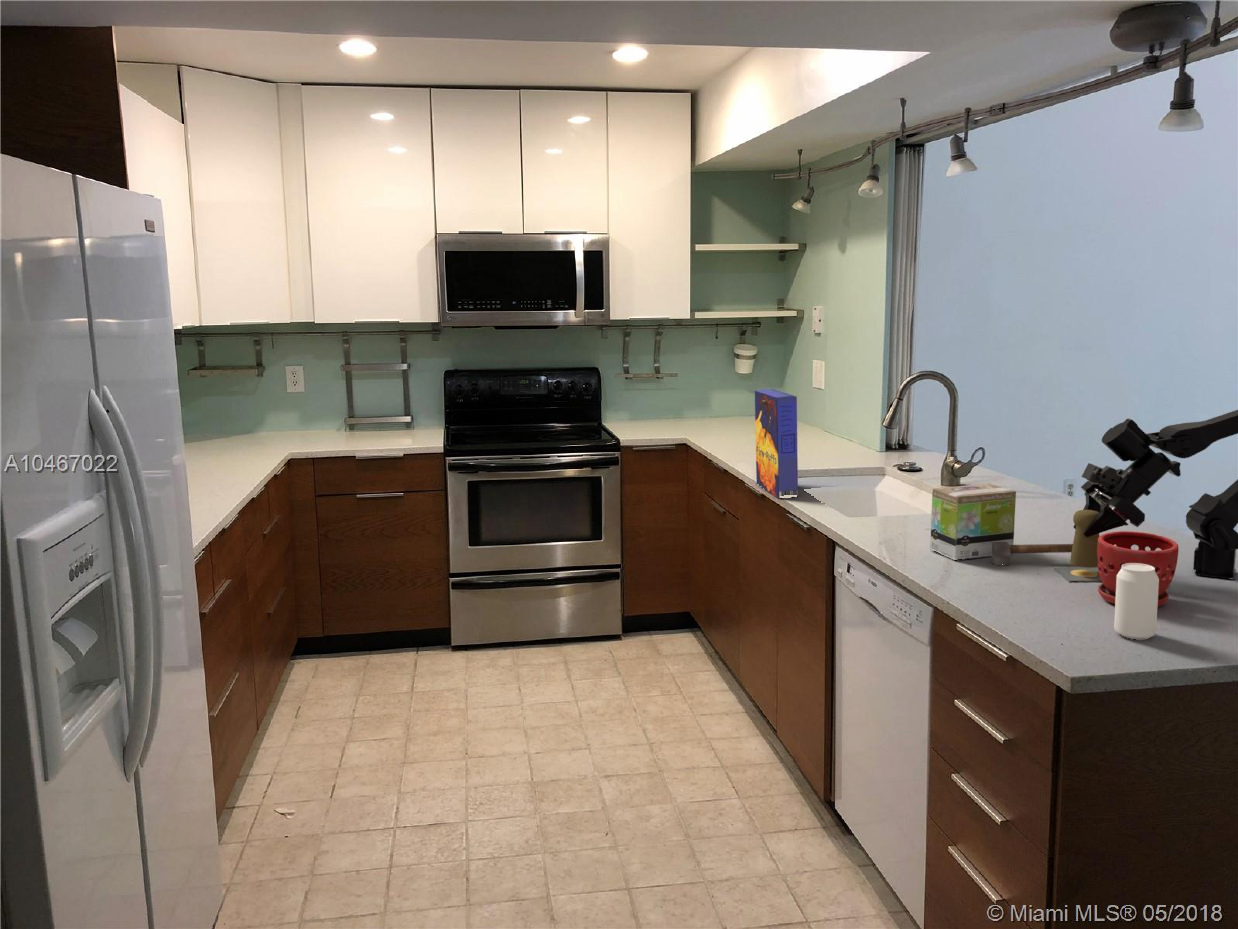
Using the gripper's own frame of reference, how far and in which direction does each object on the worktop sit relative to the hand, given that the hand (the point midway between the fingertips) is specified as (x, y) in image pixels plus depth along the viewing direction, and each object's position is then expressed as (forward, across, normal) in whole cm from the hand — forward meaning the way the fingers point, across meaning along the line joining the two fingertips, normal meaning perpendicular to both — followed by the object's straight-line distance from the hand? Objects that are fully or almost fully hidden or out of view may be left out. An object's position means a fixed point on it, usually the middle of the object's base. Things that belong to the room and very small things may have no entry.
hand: (1079, 532), depth 190 cm
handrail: (+9, -9, +4) cm, 13 cm away
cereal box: (+46, -88, -34) cm, 105 cm away
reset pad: (+6, 0, +7) cm, 9 cm away
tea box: (+18, -18, -5) cm, 26 cm away
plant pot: (+4, +17, +10) cm, 20 cm away
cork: (+4, 0, +6) cm, 7 cm away
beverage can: (+8, +34, +5) cm, 35 cm away
